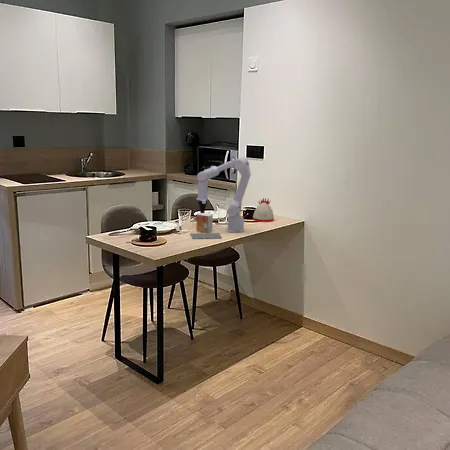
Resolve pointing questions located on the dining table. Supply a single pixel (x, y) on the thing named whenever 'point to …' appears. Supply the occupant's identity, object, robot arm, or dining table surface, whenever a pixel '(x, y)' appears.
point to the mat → (206, 236)
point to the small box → (204, 222)
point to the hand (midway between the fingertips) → (202, 212)
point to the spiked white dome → (263, 212)
